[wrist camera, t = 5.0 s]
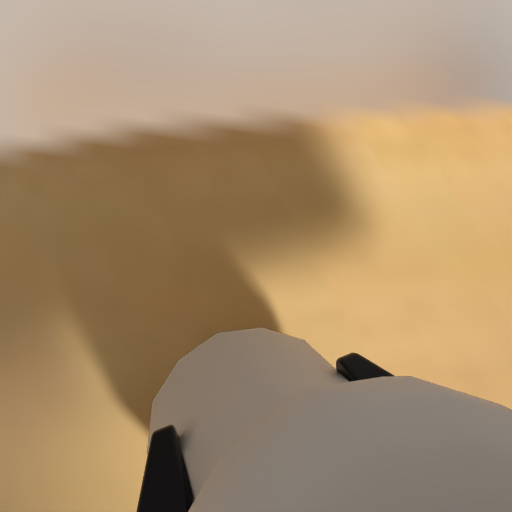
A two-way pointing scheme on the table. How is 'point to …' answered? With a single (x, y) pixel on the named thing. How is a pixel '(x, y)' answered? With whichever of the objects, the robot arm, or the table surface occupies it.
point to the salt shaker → (327, 434)
